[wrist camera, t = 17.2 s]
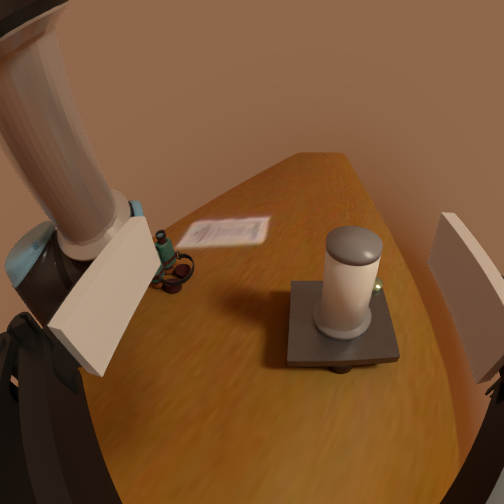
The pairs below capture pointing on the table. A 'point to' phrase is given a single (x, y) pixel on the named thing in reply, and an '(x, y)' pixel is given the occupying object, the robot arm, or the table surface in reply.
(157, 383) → the table surface
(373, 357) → the stand
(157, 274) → the binoculars
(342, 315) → the white flanged cylinder
